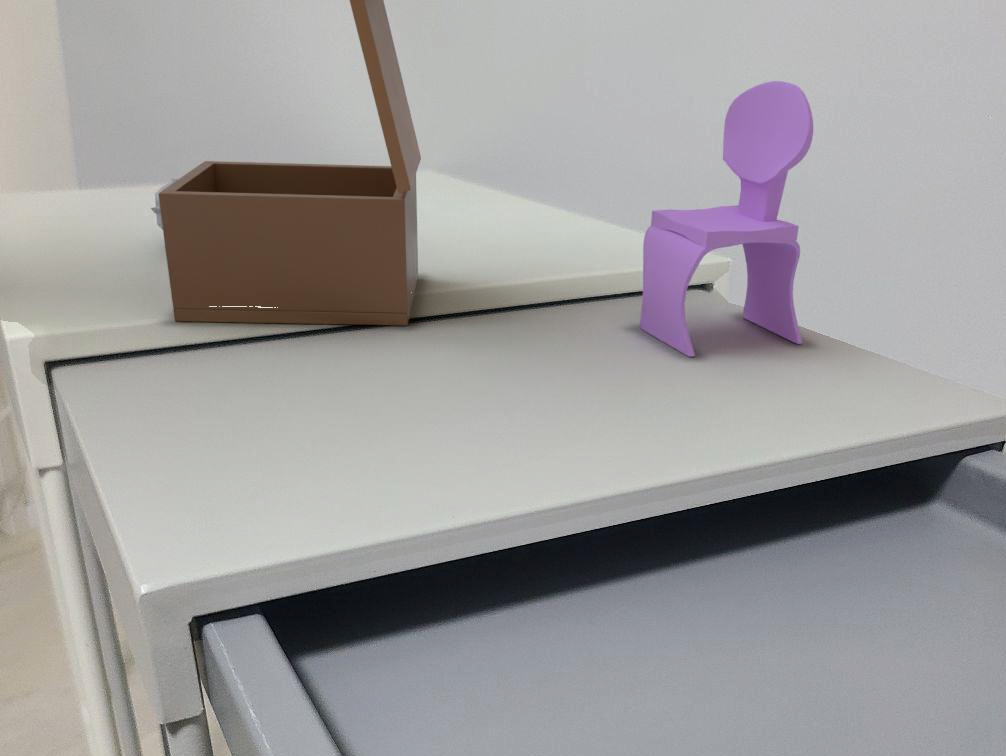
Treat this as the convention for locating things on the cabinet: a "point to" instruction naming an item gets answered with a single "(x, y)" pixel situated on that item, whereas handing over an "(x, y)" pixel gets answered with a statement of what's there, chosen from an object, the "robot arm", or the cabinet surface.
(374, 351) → the cabinet surface
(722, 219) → the toy chair
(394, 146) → the lid
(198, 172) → the brown open rectangular box
